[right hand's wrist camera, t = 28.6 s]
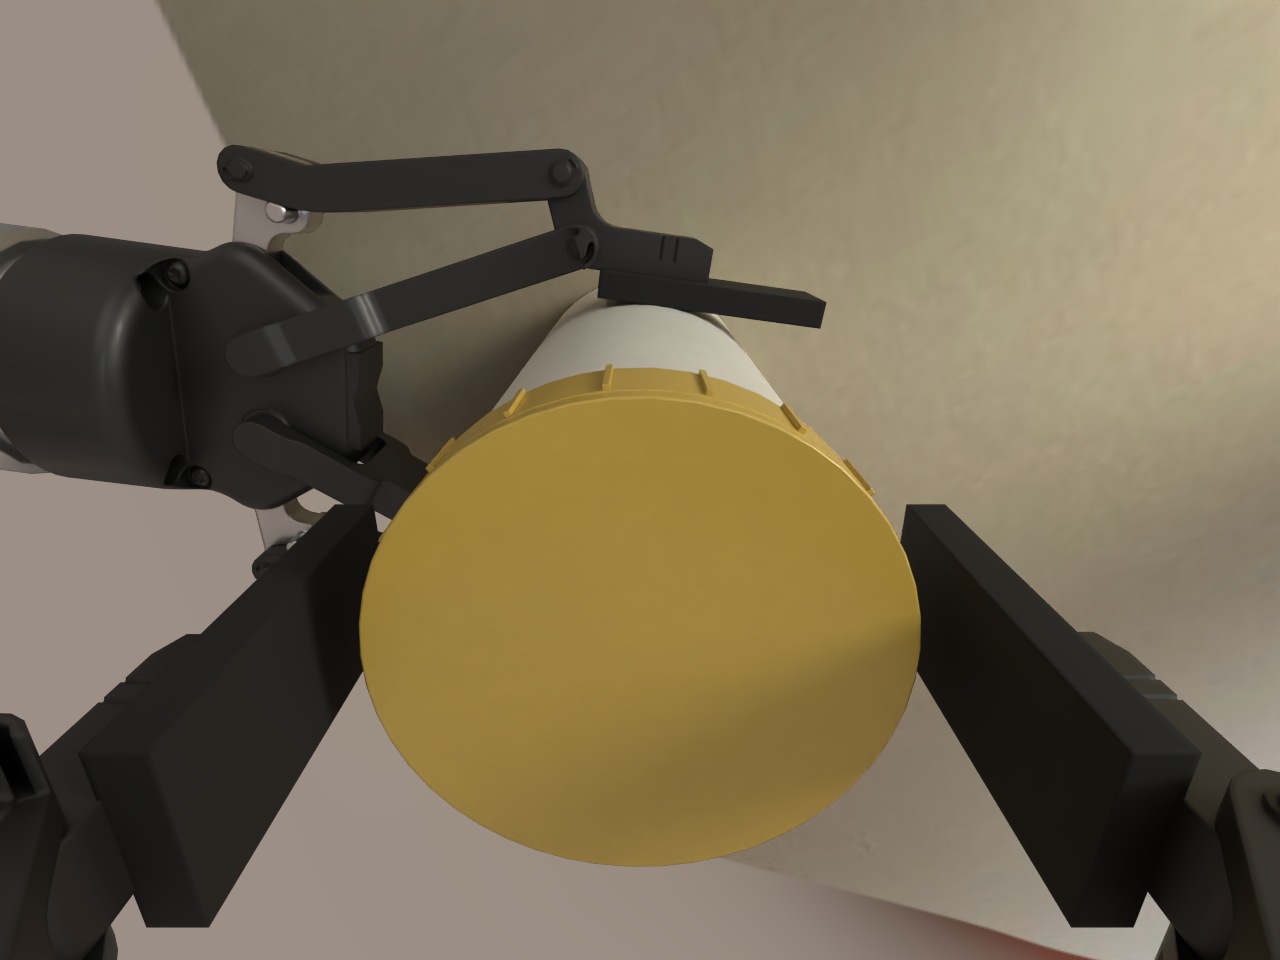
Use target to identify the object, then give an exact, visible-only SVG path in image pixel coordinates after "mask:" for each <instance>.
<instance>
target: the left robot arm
mask: <svg viewBox="0 0 1280 960" xmlns="http://www.w3.org/2000/svg"><path fill="white" fill-rule="evenodd" d="M217 168H218V173H219V175H220V177H221V179H222V181H223V182H224V183H225V184H226V185H227V186H228V187H229V188H230V189H232V190H234V191H236V200H235V215H234V228H233V242H229V243H225V244H222V245H220V246H218V247H216V248H214V249H211V250H209V251H200V250H193V249H185V248H178V247H171V246H163V245H156V244H149V243H142V242H135V241H127V240H120V239H113V238H106V237H98V236H91V235H83V234H69V235H61V234H58V233H55V232H52V231H49V230H46V229H41V228H33V227H25V226H18V225H10V224H2V223H0V470H8V471H15V472H22V473H30V474H35V473H53V474H56V475H60V476H65V477H71V478H79V479H87V480H95V481H104V482H112V483H120V484H129V485H137V486H145V487H153V488H162V489H207V490H213V491H217V492H219V493H222V494H224V495H227V496H229V497H230V498H232V499H234V500H236V501H237V502H239V503H241V504H242V505H245V506H247V507H250V508H253V509H255V512H256V516H257V520H258V524H259V527H260V531H261V535H262V539H263V543H264V547H265V551H264V552H263V553H262V554H261V555H260V556H259V557H258V558H257V559H256V560H255V561H254V562H253V565H252V572H253V575H254V577H255V578H256V579H258V578H259V577H260V576H261V575H262V574H263V573H264V572H266V571H267V570H268V569H269V568H270V567H271V566H272V565H273V564H274V563H275V562H276V561H277V560H278V559H279V558H280V557H281V556H282V555H283V554H284V553H285V552H286V551H287V550H288V549H289V548H290V547H291V546H292V545H293V544H295V543H296V542H297V541H298V540H299V539H300V538H301V537H302V536H303V535H304V534H305V533H306V532H307V531H308V530H309V529H310V528H311V527H312V526H313V525H314V524H315V523H316V522H317V521H318V520H319V519H320V518H321V517H323V516H324V515H325V514H326V512H321V513H315V512H311V511H308V510H306V509H305V508H304V507H302V506H301V505H300V503H299V502H298V500H297V497H298V496H300V495H302V494H304V493H306V492H307V491H309V490H311V489H313V488H314V489H316V490H318V491H320V492H322V493H324V494H326V495H328V496H330V497H332V498H333V499H335V500H337V501H339V502H341V503H343V504H373V505H374V511H376V512H378V513H380V514H382V515H384V516H385V517H387V518H389V519H391V520H393V518H394V517H395V515H396V514H397V512H398V511H399V509H400V508H401V506H402V505H403V503H404V502H405V500H406V499H407V498H408V497H409V496H410V494H411V493H412V492H413V491H414V489H415V488H416V487H417V486H418V484H419V483H420V482H421V481H422V479H423V478H424V477H425V476H426V474H427V473H428V471H427V470H426V469H425V468H426V467H427V466H428V465H429V464H427V463H425V462H423V461H421V460H420V459H418V458H416V457H414V456H413V455H412V454H411V453H410V451H409V449H408V447H407V446H406V445H405V444H403V443H402V442H400V441H398V440H397V439H395V438H393V437H391V436H389V435H388V434H386V433H384V432H383V409H382V405H381V401H380V398H379V394H378V391H377V384H378V380H379V376H380V373H381V369H382V366H383V342H379V341H376V339H375V337H376V336H379V335H381V334H384V333H387V332H390V331H393V330H396V329H399V328H402V327H405V326H408V325H411V324H414V323H417V322H420V321H424V320H427V319H430V318H433V317H436V316H439V315H442V314H445V313H448V312H451V311H454V310H457V309H460V308H463V307H467V306H470V305H473V304H476V303H479V302H482V301H485V300H488V299H491V298H494V297H497V296H500V295H503V294H506V293H510V292H513V291H516V290H519V289H522V288H525V287H528V286H531V285H534V284H537V283H540V282H543V281H546V280H549V279H553V278H556V277H559V276H562V275H565V274H568V273H571V272H574V271H577V270H580V269H583V270H584V269H586V268H588V269H595V270H600V276H599V285H598V295H597V298H601V299H608V300H616V301H623V302H630V303H638V304H645V305H652V306H660V307H667V308H674V309H681V310H688V311H696V312H703V313H710V314H717V315H725V316H732V317H739V318H747V319H754V320H761V321H768V322H776V323H783V324H790V325H797V326H805V327H812V328H819V329H820V328H821V323H822V319H823V315H824V310H825V306H826V302H825V301H823V300H821V299H819V298H817V297H815V296H813V295H811V294H809V293H807V292H803V291H796V290H789V289H782V288H775V287H768V286H761V285H754V284H746V283H739V282H732V281H725V280H718V279H711V278H709V272H710V266H711V260H712V254H713V249H712V248H710V247H708V246H707V245H705V244H704V243H702V242H700V241H699V240H697V239H695V238H692V237H685V236H678V235H671V234H664V233H657V232H650V231H643V230H636V229H629V228H622V227H616V226H613V225H611V224H609V223H607V222H606V221H605V220H604V219H603V218H602V217H601V216H600V214H599V213H598V211H597V208H596V205H595V201H594V197H593V192H592V188H591V183H590V179H589V177H590V176H589V172H588V168H587V166H586V165H585V164H584V162H583V161H582V160H581V159H580V158H578V157H577V156H576V155H575V154H573V153H572V152H570V151H569V150H565V149H546V150H531V151H516V152H501V153H485V154H470V155H455V156H440V157H425V158H410V159H395V160H380V161H365V162H350V163H335V164H319V163H316V162H313V161H310V160H307V159H303V158H300V157H297V156H294V155H291V154H287V153H283V152H277V151H271V150H264V149H258V148H252V147H246V146H239V145H231V146H228V147H225V148H224V149H223V150H222V151H221V152H220V153H219V156H218V160H217ZM545 200H548V204H549V208H550V213H551V217H552V221H553V225H554V229H555V230H553V231H550V232H547V233H544V234H541V235H538V236H535V237H532V238H529V239H526V240H523V241H520V242H517V243H514V244H511V245H508V246H505V247H502V248H499V249H496V250H493V251H490V252H487V253H484V254H481V255H478V256H475V257H472V258H469V259H466V260H463V261H460V262H457V263H454V264H451V265H448V266H445V267H442V268H439V269H436V270H433V271H430V272H427V273H424V274H421V275H418V276H415V277H412V278H409V279H406V280H403V281H400V282H397V283H394V284H391V285H388V286H385V287H382V288H379V289H376V290H373V291H370V292H367V293H364V294H361V295H358V296H355V297H352V298H349V299H346V300H342V299H340V298H339V297H338V296H337V295H336V294H334V293H333V292H332V291H331V290H330V289H329V288H327V287H326V286H325V285H324V284H323V283H322V282H320V281H319V280H318V279H317V278H316V277H314V276H313V275H312V274H311V273H310V272H309V271H307V270H306V269H305V268H304V267H303V266H301V265H300V264H299V263H298V262H297V261H296V260H294V259H293V258H292V257H291V256H290V255H288V254H287V253H286V252H285V251H284V250H282V247H283V243H284V241H285V240H286V238H287V237H288V236H290V235H291V234H298V233H310V232H313V231H315V230H316V229H317V228H318V227H319V226H320V224H321V222H322V218H323V212H375V211H390V210H406V209H421V208H436V207H452V206H467V205H483V204H498V203H514V202H529V201H545ZM358 461H360V462H362V463H364V464H358V463H357V462H358ZM381 535H382V532H379V531H378V536H379V538H380V536H381Z"/></svg>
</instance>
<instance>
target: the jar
mask: <svg viewBox="0 0 1280 960" xmlns="http://www.w3.org/2000/svg"><path fill="white" fill-rule="evenodd" d="M597 295H598V288H597V289H595V290H593V291H592V292H590V293H588V294H586V295H585V296H583V297H582V298H581V299H579V300H578V301H576V302H575V303H574V304H573V305H572V306H571V307H570V308H569V309H568V310H567V311H566V312H565V313H564V314H563V315H562V317H561V318H560V319H559V321H558V322H557V323H556V324H555V326H554V327H553V329H552V330H551V331H550V333H549V334H548V335H547V337H546V338H545V339H544V341H543V342H542V343H541V345H540V346H539V347H538V349H537V350H536V351H535V353H534V354H533V356H532V357H531V358H530V360H529V361H528V362H527V364H526V365H525V366H524V368H523V369H522V370H521V372H520V373H519V374H518V376H517V377H516V379H515V380H514V381H513V383H512V384H511V385H510V387H509V388H508V389H507V391H506V392H505V393H504V395H503V396H502V397H501V399H500V400H499V401H498V403H497V404H496V406H495V407H494V408H493V410H495V409H496V408H498V407H500V406H501V405H503V404H505V403H506V402H508V401H509V400H511V399H513V397H514V396H515V394H516V393H517V391H518V390H520V389H522V388H524V389H525V391H526V392H528V391H530V390H533V389H535V388H537V387H540V386H542V385H544V384H546V383H549V382H553V381H557V380H560V379H564V378H567V377H571V376H574V375H578V374H581V373H588V372H595V371H601V370H605V368H606V365H608V364H613V369H615V368H662V369H670V370H679V371H688V372H693V373H697V374H698V373H699V369H702V370H706V372H707V375H708V376H709V377H713V378H717V379H721V380H725V381H727V382H730V383H732V384H735V385H737V386H740V387H742V388H745V389H748V390H750V391H753V392H755V393H758V394H759V395H761V396H763V397H765V398H766V399H768V400H770V401H772V402H774V403H775V404H777V405H779V406H782V404H783V403H782V401H781V400H780V398H779V397H778V396H777V394H776V393H775V392H774V390H773V389H772V388H771V386H770V385H769V384H768V382H767V381H766V380H765V378H764V377H763V375H762V374H761V373H760V371H759V370H758V369H757V367H756V366H755V365H754V363H753V362H752V361H751V359H750V358H749V357H748V355H747V354H746V353H745V351H744V350H743V348H742V347H741V346H740V344H739V343H738V342H737V340H736V339H735V338H734V336H733V335H732V334H731V332H730V331H729V330H728V328H727V327H726V325H725V324H724V323H723V321H722V320H721V319H720V318H719V316H718V315H717V314H710V313H703V312H696V311H688V310H681V309H674V308H667V307H660V306H652V305H645V304H638V303H630V302H623V301H616V300H608V299H601V298H597ZM493 410H492V411H493Z"/></svg>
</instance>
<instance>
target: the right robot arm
mask: <svg viewBox="0 0 1280 960" xmlns="http://www.w3.org/2000/svg"><path fill="white" fill-rule="evenodd" d="M378 540H379V536H378V530H377V524H376V518H375V511H374V505H373V504H339V505H338V504H335V505H334V506H333V507H332V508H331V509H330V510H329V511H328V512H327V513H326V514H325V515H324V516H323V517H321V518H320V519H319V520H318V521H317V522H316V523H315V524H314V525H313V526H312V527H311V528H310V529H309V530H308V531H307V532H306V533H305V534H304V535H303V536H302V537H301V538H300V539H299V540H298V541H297V542H296V543H295V544H293V545H292V546H291V547H290V548H289V549H288V550H287V551H286V552H285V553H284V554H283V555H282V556H281V557H280V558H279V559H278V560H277V561H276V562H275V563H274V564H273V565H272V566H271V567H270V568H269V569H268V570H267V571H266V572H264V573H263V574H262V575H261V576H260V577H259V578H258V579H257V580H256V581H255V582H254V583H253V584H252V585H251V586H250V587H249V588H248V589H247V590H246V591H245V592H244V593H243V594H242V595H241V596H240V597H239V598H238V599H237V600H236V601H234V602H233V603H232V604H231V605H230V606H229V607H228V608H227V609H226V610H225V611H224V612H223V613H222V614H221V615H220V616H219V617H218V618H217V619H216V620H215V621H214V622H213V623H212V624H211V625H210V626H209V627H207V628H206V629H205V630H204V631H203V632H202V633H201V634H186V635H185V636H183V637H181V638H179V639H178V640H176V641H174V642H172V643H170V644H169V645H167V646H165V647H163V648H162V649H160V650H158V651H156V652H155V653H153V654H151V655H150V656H149V657H148V658H147V659H146V660H145V661H144V662H143V663H141V664H140V665H139V666H138V667H137V668H136V669H135V670H134V671H133V672H132V673H130V674H129V675H128V676H127V677H126V681H125V682H121V683H119V684H118V685H117V686H116V687H115V688H114V689H113V690H112V691H111V692H110V693H108V694H107V695H106V696H105V697H104V702H103V703H97V704H96V705H95V706H94V707H93V708H92V709H91V710H90V711H89V712H88V713H86V714H85V715H84V716H83V717H82V718H81V719H80V720H79V721H78V722H77V723H75V724H74V725H73V726H72V727H71V728H70V729H69V730H68V731H67V732H66V733H64V734H63V735H62V736H61V737H60V738H59V739H58V740H57V741H56V742H55V743H53V744H52V745H51V746H50V747H49V748H48V749H47V750H46V751H45V752H44V753H42V754H41V755H40V756H39V754H38V752H37V750H36V747H35V745H34V742H33V740H32V738H31V735H30V733H29V731H28V728H27V726H26V724H25V721H24V720H22V719H20V718H18V717H17V716H15V715H13V714H4V713H0V960H117V954H118V948H117V943H116V938H115V934H114V932H113V929H112V927H111V923H112V922H113V921H114V919H115V918H116V917H117V915H118V914H119V913H120V911H121V910H122V908H123V907H124V906H125V904H126V903H127V902H128V900H129V899H130V898H131V896H132V895H133V894H134V897H135V899H136V902H137V904H138V907H139V910H140V912H141V915H142V917H143V920H144V922H145V925H146V927H209V926H210V925H211V923H212V921H213V920H214V918H215V916H216V915H217V913H218V911H219V910H220V908H221V906H222V905H223V903H224V901H225V900H226V898H227V896H228V895H229V893H230V891H231V890H232V888H233V886H234V885H235V883H236V881H237V880H238V878H239V876H240V875H241V873H242V871H243V870H244V868H245V866H246V865H247V863H248V861H249V860H250V858H251V856H252V855H253V853H254V851H255V850H256V848H257V846H258V845H259V843H260V841H261V840H262V838H263V836H264V835H265V833H266V831H267V830H268V828H269V826H270V825H271V823H272V821H273V820H274V818H275V816H276V815H277V813H278V811H279V810H280V808H281V806H282V805H283V803H284V802H285V800H286V798H287V797H288V795H289V793H290V791H291V790H292V788H293V787H294V785H295V783H296V782H297V780H298V778H299V777H300V775H301V773H302V772H303V770H304V768H305V767H306V765H307V763H308V762H309V760H310V758H311V757H312V755H313V753H314V752H315V750H316V748H317V747H318V745H319V743H320V742H321V740H322V738H323V737H324V735H325V733H326V732H327V730H328V728H329V727H330V725H331V723H332V722H333V720H334V718H335V717H336V715H337V713H338V712H339V710H340V708H341V707H342V705H343V703H344V702H345V700H346V698H347V697H348V695H349V693H350V692H351V690H352V688H353V687H354V685H355V683H356V682H357V680H358V678H359V677H360V675H361V673H362V672H363V667H362V662H361V657H360V639H359V618H360V609H361V601H362V592H363V588H364V585H365V581H366V578H367V574H368V571H369V567H370V564H371V560H372V558H373V556H374V554H375V552H376V550H377V547H378V545H379V543H380V542H378ZM900 543H901V545H902V547H903V549H904V551H905V553H906V556H907V559H908V562H909V565H910V568H911V571H912V574H913V578H914V581H915V584H916V589H917V596H918V602H919V609H920V615H921V641H920V654H919V660H918V666H917V672H918V673H919V675H920V677H921V678H922V680H923V682H924V683H925V685H926V687H927V688H928V690H929V692H930V693H931V695H932V697H933V698H934V700H935V702H936V703H937V705H938V707H939V708H940V710H941V712H942V713H943V715H944V717H945V718H946V720H947V722H948V723H949V725H950V727H951V728H952V730H953V732H954V733H955V735H956V737H957V738H958V740H959V742H960V743H961V745H962V747H963V748H964V750H965V752H966V753H967V755H968V757H969V758H970V760H971V762H972V763H973V765H974V767H975V768H976V770H977V772H978V773H979V775H980V777H981V778H982V780H983V782H984V783H985V785H986V787H987V788H988V790H989V792H990V793H991V795H992V797H993V798H994V800H995V802H996V803H997V805H998V807H999V808H1000V810H1001V812H1002V813H1003V815H1004V816H1005V818H1006V820H1007V821H1008V823H1009V825H1010V826H1011V828H1012V830H1013V831H1014V833H1015V835H1016V836H1017V838H1018V840H1019V841H1020V843H1021V845H1022V846H1023V848H1024V850H1025V851H1026V853H1027V855H1028V856H1029V858H1030V860H1031V861H1032V863H1033V865H1034V866H1035V868H1036V870H1037V871H1038V873H1039V875H1040V876H1041V878H1042V880H1043V881H1044V883H1045V885H1046V886H1047V888H1048V890H1049V891H1050V893H1051V895H1052V896H1053V898H1054V900H1055V901H1056V903H1057V905H1058V906H1059V908H1060V910H1061V911H1062V913H1063V915H1064V916H1065V918H1066V920H1067V921H1068V923H1069V925H1070V926H1071V927H1134V925H1135V922H1136V920H1137V917H1138V915H1139V912H1140V910H1141V907H1142V905H1143V902H1144V900H1145V897H1146V894H1147V892H1148V893H1149V894H1150V895H1151V897H1152V898H1153V899H1154V901H1155V902H1156V903H1157V905H1158V906H1159V907H1160V909H1161V910H1162V911H1163V913H1164V914H1165V915H1166V917H1167V918H1168V919H1169V921H1170V925H1169V927H1168V929H1167V932H1166V934H1165V936H1164V939H1163V941H1162V943H1161V946H1160V948H1159V951H1158V953H1157V955H1156V958H1155V960H1280V772H1276V771H1271V770H1267V769H1260V770H1259V769H1258V768H1257V767H1256V766H1255V765H1254V764H1253V763H1252V762H1250V761H1249V760H1248V759H1247V758H1246V757H1245V756H1244V755H1243V754H1242V753H1240V752H1239V751H1238V750H1237V749H1236V748H1235V747H1234V746H1233V745H1232V744H1230V743H1229V742H1228V741H1227V740H1226V739H1225V738H1224V737H1223V736H1222V735H1221V734H1219V733H1218V732H1217V731H1216V730H1215V729H1214V728H1213V727H1212V726H1211V725H1209V724H1208V723H1207V722H1206V721H1205V720H1204V719H1203V718H1202V717H1201V716H1199V715H1198V714H1197V713H1196V712H1195V711H1194V710H1193V709H1192V708H1191V707H1190V706H1188V705H1187V704H1186V703H1185V702H1184V701H1183V700H1178V699H1177V695H1176V694H1175V693H1174V692H1173V691H1172V690H1171V689H1170V688H1168V687H1167V686H1166V685H1165V684H1164V683H1163V682H1162V681H1161V680H1156V679H1155V675H1154V674H1153V673H1152V672H1151V671H1150V670H1149V669H1147V668H1146V667H1145V666H1144V665H1143V664H1142V663H1141V662H1140V661H1139V660H1137V659H1136V658H1135V657H1134V656H1133V655H1132V654H1131V653H1130V652H1128V651H1127V650H1125V649H1123V648H1121V647H1120V646H1118V645H1116V644H1114V643H1112V642H1111V641H1109V640H1107V639H1105V638H1104V637H1102V636H1100V635H1098V634H1097V633H1095V632H1077V631H1076V630H1075V629H1074V628H1073V627H1071V626H1070V625H1069V624H1068V623H1067V622H1066V621H1065V620H1064V619H1063V618H1062V617H1061V616H1060V615H1059V614H1058V613H1057V612H1056V611H1055V610H1054V609H1053V608H1052V607H1051V606H1050V605H1049V604H1048V603H1047V602H1046V601H1045V600H1044V599H1042V598H1041V597H1040V596H1039V595H1038V594H1037V593H1036V592H1035V591H1034V590H1033V589H1032V588H1031V587H1030V586H1029V585H1028V584H1027V583H1026V582H1025V581H1024V580H1023V579H1022V578H1021V577H1020V576H1019V575H1018V574H1017V573H1016V572H1014V571H1013V570H1012V569H1011V568H1010V567H1009V566H1008V565H1007V564H1006V563H1005V562H1004V561H1003V560H1002V559H1001V558H1000V557H999V556H998V555H997V554H996V553H995V552H994V551H993V550H992V549H991V548H990V547H989V546H988V545H987V544H985V543H984V542H983V541H982V540H981V539H980V538H979V537H978V536H977V535H976V534H975V533H974V532H973V531H972V530H971V529H970V528H969V527H968V526H967V525H966V524H965V523H964V522H963V521H962V520H961V519H960V518H959V517H957V516H956V515H955V514H954V513H953V512H952V511H951V510H950V509H949V508H948V507H947V506H946V505H945V504H907V505H906V511H905V517H904V524H903V530H902V536H901V542H900Z"/></svg>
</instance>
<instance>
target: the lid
mask: <svg viewBox="0 0 1280 960" xmlns="http://www.w3.org/2000/svg"><path fill="white" fill-rule="evenodd" d="M425 469H426V470H427V471H428V473H427V474H426V476H425V477H424V478H423V479H422V481H421V482H420V483H419V484H418V486H417V487H416V488H415V489H414V491H413V492H412V493H411V494H410V496H409V497H408V498H407V499H406V500H405V502H404V503H403V505H402V506H401V508H400V509H399V511H398V512H397V514H396V515H395V517H394V518H393V520H392V521H391V523H390V524H389V526H388V527H387V528H386V530H385V531H384V532H383V533H382V535H381V536H380V538H379V540H378V542H380V543H379V545H378V547H377V550H376V552H375V554H374V556H373V558H372V560H371V564H370V567H369V571H368V574H367V578H366V581H365V585H364V588H363V592H362V601H361V609H360V618H359V639H360V657H361V662H362V667H363V672H364V677H365V682H366V686H367V689H368V692H369V694H370V697H371V700H372V703H373V705H374V708H375V711H376V714H377V716H378V718H379V719H380V721H381V723H382V725H383V727H384V729H385V731H386V732H387V734H388V736H389V738H390V740H391V742H392V743H393V744H394V746H395V747H396V748H397V750H398V751H399V753H400V754H401V755H402V757H403V758H404V759H405V761H406V762H407V764H408V765H409V766H410V767H411V768H412V769H413V770H414V772H415V773H416V774H417V775H418V776H419V777H420V778H421V779H422V780H423V781H424V782H425V783H426V784H427V785H428V786H429V787H430V788H431V789H432V790H433V791H434V792H435V793H437V794H438V795H439V796H440V797H441V798H443V799H444V800H445V801H446V802H447V803H449V804H450V805H451V806H452V807H453V808H455V809H456V810H458V811H460V812H461V813H462V814H464V815H466V816H467V817H469V818H470V819H472V820H473V821H475V822H476V823H478V824H479V825H481V826H483V827H485V828H487V829H489V830H491V831H493V832H495V833H497V834H499V835H501V836H502V837H504V838H506V839H509V840H512V841H514V842H517V843H519V844H522V845H524V846H527V847H529V848H532V849H534V850H538V851H542V852H545V853H548V854H552V855H555V856H559V857H563V858H566V859H572V860H578V861H583V862H589V863H594V864H604V865H616V866H666V865H675V864H685V863H692V862H697V861H702V860H707V859H712V858H717V857H722V856H725V855H729V854H732V853H735V852H738V851H742V850H745V849H748V848H751V847H754V846H756V845H759V844H761V843H763V842H766V841H768V840H771V839H773V838H775V837H778V836H780V835H782V834H784V833H786V832H787V831H789V830H791V829H793V828H795V827H797V826H798V825H800V824H802V823H804V822H806V821H807V820H809V819H810V818H812V817H813V816H815V815H816V814H817V813H819V812H820V811H822V810H823V809H825V808H826V807H827V806H829V805H830V804H832V803H833V802H834V801H835V800H836V799H838V798H839V797H840V796H841V795H842V794H843V793H844V792H846V791H847V790H848V789H849V788H850V787H851V786H852V785H853V784H855V783H856V782H857V780H858V779H859V778H860V777H861V776H862V775H863V774H864V772H865V771H866V770H867V769H868V768H869V767H870V766H871V765H872V763H873V762H874V761H875V760H876V759H877V757H878V756H879V754H880V753H881V751H882V750H883V748H884V747H885V745H886V744H887V742H888V741H889V739H890V738H891V737H892V735H893V733H894V731H895V729H896V727H897V725H898V723H899V721H900V719H901V717H902V715H903V713H904V711H905V709H906V706H907V703H908V700H909V697H910V694H911V691H912V688H913V685H914V682H915V678H916V672H917V666H918V660H919V654H920V641H921V615H920V609H919V602H918V596H917V589H916V584H915V581H914V578H913V574H912V571H911V568H910V565H909V562H908V559H907V556H906V553H905V551H904V549H903V547H902V545H901V543H900V541H899V539H898V537H897V535H896V533H895V531H894V530H893V528H892V526H891V524H890V522H889V521H888V519H887V518H886V517H885V515H884V514H883V512H882V511H881V510H880V508H879V507H878V506H877V504H876V503H875V501H874V500H873V499H872V497H871V495H873V494H874V493H875V492H874V491H873V489H872V488H871V487H870V486H869V484H868V483H867V482H866V481H865V480H864V478H863V477H862V476H861V475H860V474H859V472H858V471H857V470H856V469H855V468H854V466H853V465H852V464H851V463H850V462H849V460H848V459H846V460H844V461H842V460H841V459H840V457H839V456H838V455H837V454H836V453H835V452H834V451H833V450H832V449H831V448H830V446H829V445H828V444H827V443H826V442H825V441H824V440H823V439H822V438H821V437H820V436H819V435H818V434H817V433H816V432H815V431H814V430H812V429H811V428H810V427H809V426H807V425H806V424H805V423H803V422H802V421H801V420H799V418H798V417H797V416H796V414H795V413H794V412H793V410H792V409H791V408H790V406H789V405H787V404H786V403H783V404H782V406H779V405H777V404H775V403H774V402H772V401H770V400H768V399H766V398H765V397H763V396H761V395H759V394H758V393H755V392H753V391H750V390H748V389H745V388H742V387H740V386H737V385H735V384H732V383H730V382H727V381H725V380H721V379H717V378H713V377H709V376H708V375H707V372H706V370H702V369H699V373H698V374H697V373H693V372H688V371H679V370H670V369H662V368H615V369H613V364H608V365H606V368H605V370H601V371H595V372H588V373H581V374H578V375H574V376H571V377H567V378H564V379H560V380H557V381H553V382H549V383H546V384H544V385H542V386H540V387H537V388H535V389H533V390H530V391H528V392H526V391H525V389H524V388H522V389H520V390H518V391H517V393H516V394H515V396H514V397H513V399H511V400H509V401H508V402H506V403H505V404H503V405H501V406H500V407H498V408H496V409H495V410H493V411H491V412H490V413H488V414H486V415H485V416H484V417H483V418H481V419H480V420H479V421H478V422H477V423H475V424H474V425H473V426H472V427H470V428H469V429H468V430H467V431H466V432H464V433H463V434H462V435H461V436H460V437H459V438H458V439H457V440H455V439H454V438H453V437H451V438H450V440H449V441H448V442H447V443H446V444H445V445H444V446H443V448H442V449H441V450H440V451H439V453H438V454H437V455H436V456H435V457H434V459H433V460H432V461H431V462H430V463H429V465H428V466H427V467H426V468H425Z"/></svg>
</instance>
